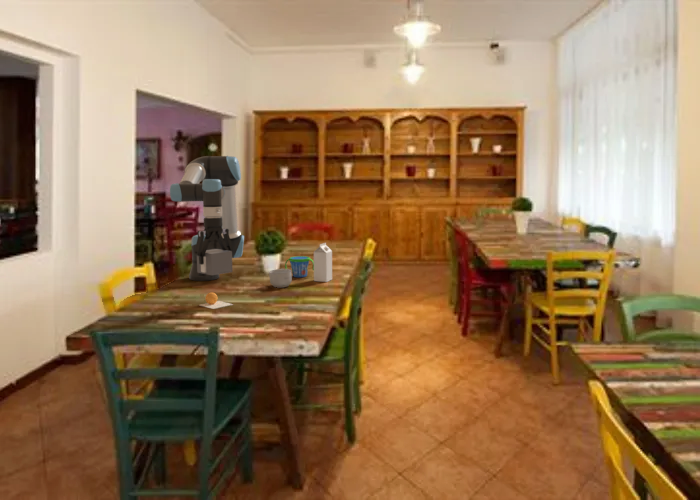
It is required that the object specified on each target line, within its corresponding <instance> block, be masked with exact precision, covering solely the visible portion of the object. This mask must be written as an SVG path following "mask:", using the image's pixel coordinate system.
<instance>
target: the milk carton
mask: <svg viewBox="0 0 700 500" xmlns="http://www.w3.org/2000/svg"><path fill="white" fill-rule="evenodd" d="M313 262H314V270H313V281H314V282H321V283H322V282H323V283H327V282H330V281H331V280H333V250H332V249H331V248H330V247H329V246H328V245H327V242H323V243H320V244H319V246H318V248H316V249H315V250H314V251H313Z"/></svg>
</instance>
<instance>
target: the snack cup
mask: <svg viewBox="0 0 700 500" xmlns="http://www.w3.org/2000/svg"><path fill="white" fill-rule="evenodd" d="M288 262H290V266H291V267H290V268H291V275H292V277H294V278H306V277H308V271H309V264H310V263H309V262H312V271H314V259H312V258H311V257H310V256H306V255H305V256H304V255H300V256H299V255H297V256H296V255H295V256H291V257H289V258H288V259H287V260H285V263H284V269H288V266H287V265H288Z"/></svg>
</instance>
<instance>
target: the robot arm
mask: <svg viewBox="0 0 700 500" xmlns="http://www.w3.org/2000/svg"><path fill="white" fill-rule="evenodd" d="M241 178H242V175H241V166H240V163H239V159H238V157H236V156H229V155H221V156H220V155H219V156H218V155H217V156H216V155H214V156H211V155H206V156H205V155H204V156H201V157H197V158H195V159H193V160H192V161H190V162H189V163H188V164H187V166H186V167H185V169H184V174H183V176H182V178H181V180H180V182H179V183H178V182H177V183H171V184H170V187H169V196H170V200H171V201H172V202H179V203H180V202H181V203H182V202H202V203H203V204H202V207H203V209H202V210H203V213H202V215H203V217H204V218H203V226H204V230H202V231H201V230H200V231H199V230H198V231H197V234H196V235H193V236H192V237H191V263H192V264H191V268H190V271H189V278H188V279H189V280H191V281H197V282H198V281H199V282H203V281H204V282H205V281H214V280H217V279H220V274H218V275H207V274H203V273H198V272H197V256H199V264H201V272H204V273H206V257H205V256H204V255H205V252H206V250H212V249H221V250H228V251H232V259H236V258H242V256H243V251H244V243H245V242H244V241H245V235H243V234H242V231H241V230H239V228H238V225H239V224H238V214H237V213H238V212H237V211H238V209H237V197H236V195H237V193H236V186H237V185H238V184H239V181H241V180H242V179H241ZM200 182H202V183H200Z"/></svg>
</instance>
